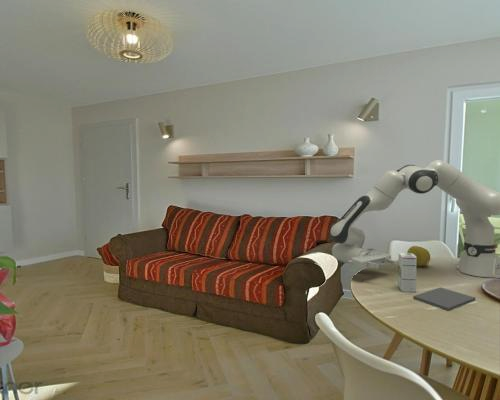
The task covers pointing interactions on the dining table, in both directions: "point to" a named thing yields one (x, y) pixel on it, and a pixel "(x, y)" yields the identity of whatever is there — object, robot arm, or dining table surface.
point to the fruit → (420, 255)
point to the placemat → (444, 298)
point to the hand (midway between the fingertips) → (386, 264)
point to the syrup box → (407, 272)
